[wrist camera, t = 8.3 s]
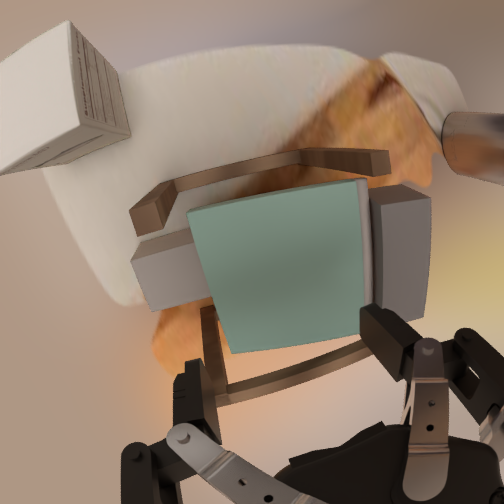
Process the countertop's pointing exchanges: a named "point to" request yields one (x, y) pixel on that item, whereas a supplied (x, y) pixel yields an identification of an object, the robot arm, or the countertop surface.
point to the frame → (153, 219)
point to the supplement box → (57, 102)
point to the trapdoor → (313, 260)
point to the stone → (170, 271)
